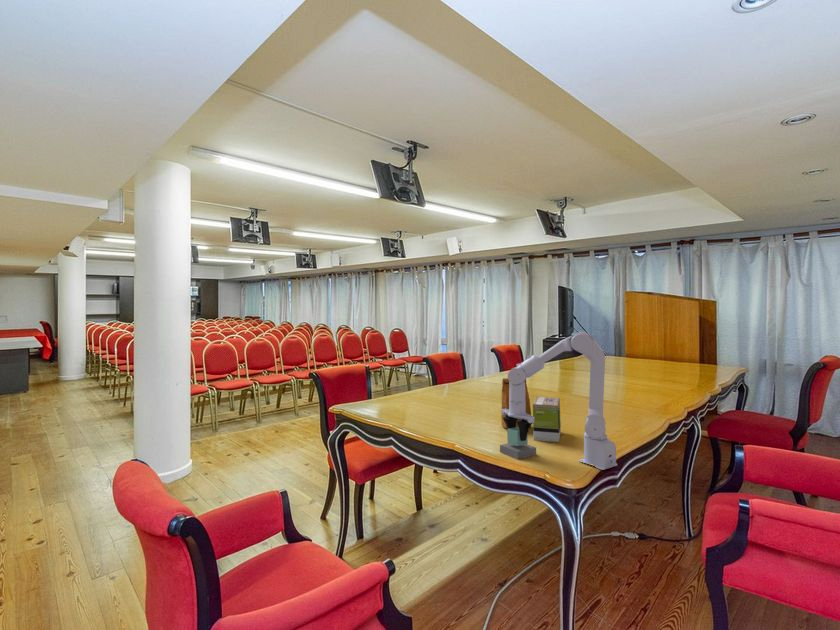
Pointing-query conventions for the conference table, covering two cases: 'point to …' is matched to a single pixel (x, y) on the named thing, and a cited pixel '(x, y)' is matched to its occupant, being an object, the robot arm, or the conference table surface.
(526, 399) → the coffee package
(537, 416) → the tea box
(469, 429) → the conference table surface
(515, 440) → the teal cube
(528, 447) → the slate plinth
